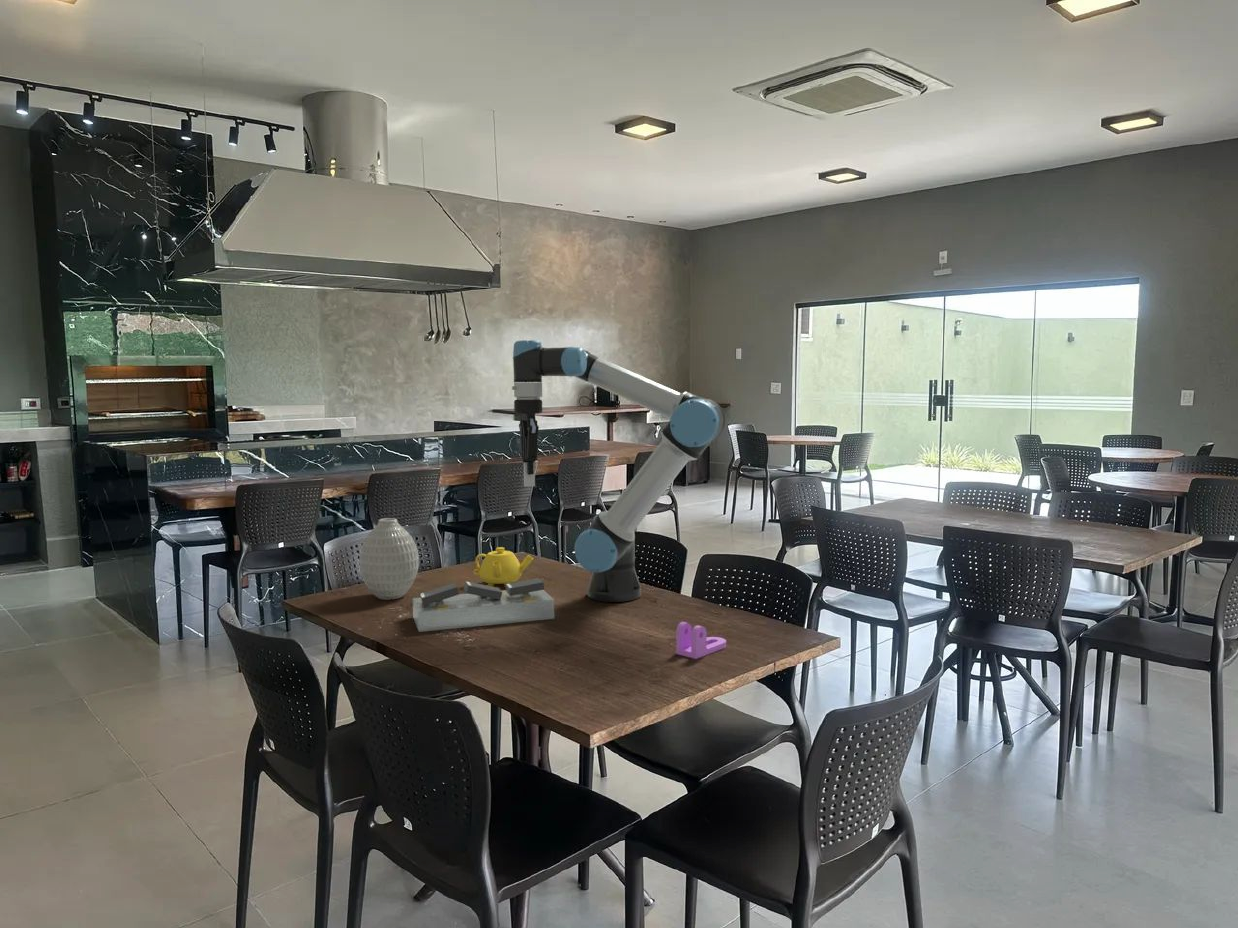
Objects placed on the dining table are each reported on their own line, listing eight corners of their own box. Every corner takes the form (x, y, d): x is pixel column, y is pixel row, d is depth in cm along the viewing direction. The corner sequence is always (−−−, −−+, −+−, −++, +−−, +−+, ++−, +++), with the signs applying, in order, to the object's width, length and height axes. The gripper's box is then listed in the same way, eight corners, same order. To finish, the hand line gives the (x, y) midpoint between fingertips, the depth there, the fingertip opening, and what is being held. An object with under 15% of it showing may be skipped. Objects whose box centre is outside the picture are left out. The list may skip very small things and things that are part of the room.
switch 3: (539, 585, 227) (538, 577, 227) (544, 589, 222) (543, 581, 222) (506, 591, 224) (505, 583, 224) (510, 596, 220) (509, 588, 219)
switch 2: (496, 595, 224) (498, 587, 224) (500, 599, 219) (502, 591, 219) (463, 588, 220) (465, 580, 220) (466, 593, 216) (468, 585, 216)
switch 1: (456, 589, 220) (454, 582, 220) (459, 594, 215) (456, 586, 215) (421, 601, 217) (419, 593, 217) (424, 605, 213) (421, 598, 212)
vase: (431, 594, 245) (429, 517, 243) (388, 607, 232) (385, 525, 229) (392, 587, 254) (389, 513, 252) (348, 599, 240) (345, 520, 238)
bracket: (696, 659, 187) (696, 628, 186) (676, 654, 191) (676, 623, 190) (731, 646, 196) (731, 616, 196) (711, 641, 200) (711, 612, 199)
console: (541, 605, 232) (540, 584, 232) (554, 618, 219) (553, 596, 219) (413, 617, 221) (412, 595, 221) (418, 631, 208) (418, 609, 208)
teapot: (495, 592, 247) (495, 554, 246) (468, 584, 257) (468, 548, 256) (535, 584, 257) (534, 547, 256) (507, 577, 267) (507, 541, 266)
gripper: (509, 398, 234) (510, 484, 236) (519, 399, 222) (521, 489, 224) (536, 398, 237) (537, 482, 239) (547, 398, 224) (548, 488, 227)
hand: (529, 485), depth 231 cm, fingers closed
